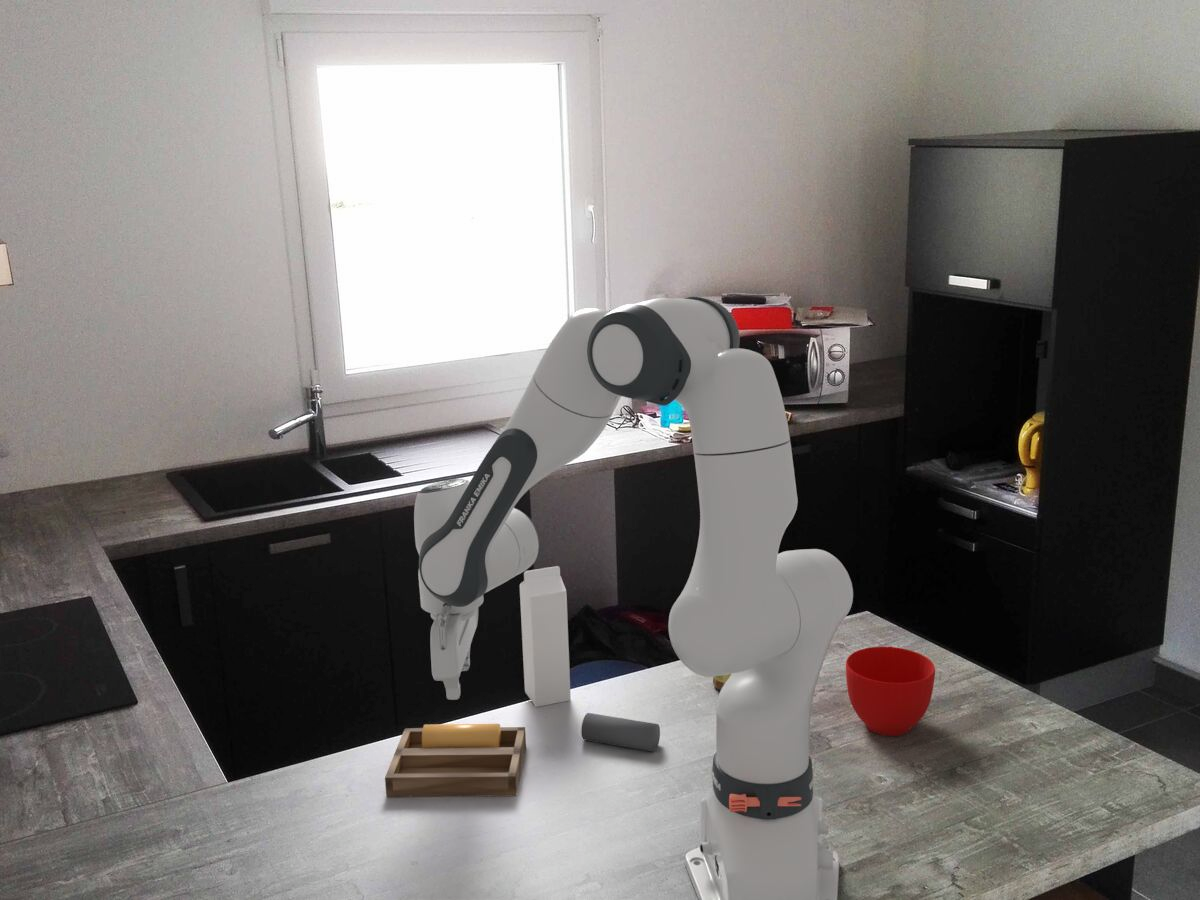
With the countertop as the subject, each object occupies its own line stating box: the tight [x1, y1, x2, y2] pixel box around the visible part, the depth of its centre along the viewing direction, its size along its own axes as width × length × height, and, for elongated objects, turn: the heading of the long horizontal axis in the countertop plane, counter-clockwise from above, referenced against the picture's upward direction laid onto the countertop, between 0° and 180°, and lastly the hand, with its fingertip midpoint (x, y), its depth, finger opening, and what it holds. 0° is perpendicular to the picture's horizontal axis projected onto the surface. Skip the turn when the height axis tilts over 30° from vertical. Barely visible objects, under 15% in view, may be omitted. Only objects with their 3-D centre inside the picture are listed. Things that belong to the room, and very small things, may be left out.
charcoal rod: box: [580, 712, 661, 753], centre depth 173 cm, size 11×4×4 cm, turn 68°
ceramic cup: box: [845, 645, 936, 737], centre depth 177 cm, size 13×17×10 cm
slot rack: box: [384, 726, 527, 798], centre depth 167 cm, size 14×18×3 cm
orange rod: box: [422, 723, 501, 748], centre depth 170 cm, size 11×4×4 cm, turn 88°
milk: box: [519, 565, 572, 708], centre depth 186 cm, size 6×6×22 cm
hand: (458, 682), depth 167 cm, fingers open, 8 cm apart
